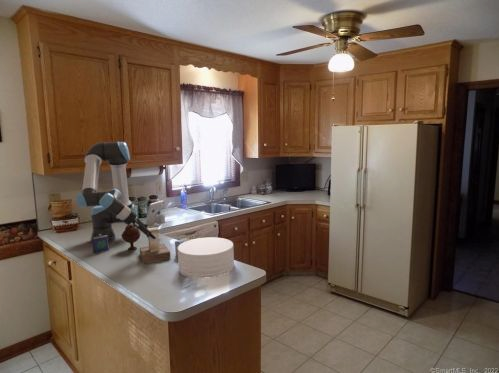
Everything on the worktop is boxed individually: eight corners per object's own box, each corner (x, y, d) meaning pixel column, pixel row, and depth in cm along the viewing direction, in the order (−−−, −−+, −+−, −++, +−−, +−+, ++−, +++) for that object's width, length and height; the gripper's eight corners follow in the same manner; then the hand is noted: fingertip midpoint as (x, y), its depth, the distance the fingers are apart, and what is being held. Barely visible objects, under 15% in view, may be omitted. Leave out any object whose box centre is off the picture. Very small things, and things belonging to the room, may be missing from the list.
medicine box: (186, 252, 198) (185, 237, 197) (191, 253, 196) (190, 239, 194) (175, 256, 192) (174, 241, 191) (180, 257, 189) (179, 242, 188)
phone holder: (156, 221, 272) (155, 199, 270) (166, 222, 268) (165, 199, 265) (141, 226, 257) (139, 203, 254) (151, 228, 253) (150, 204, 250)
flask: (107, 248, 208) (106, 231, 206) (110, 249, 206) (108, 232, 204) (92, 253, 201) (90, 235, 199) (94, 254, 199) (93, 236, 198)
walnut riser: (140, 254, 196) (139, 247, 196) (164, 250, 202) (164, 243, 202) (144, 263, 182) (143, 256, 182) (170, 258, 188) (170, 251, 187)
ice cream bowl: (118, 251, 203) (116, 226, 200) (131, 245, 213) (129, 222, 211) (133, 253, 199) (131, 228, 197) (145, 247, 209) (143, 223, 207)
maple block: (149, 249, 193) (147, 228, 191) (158, 247, 195) (156, 227, 193) (150, 251, 188) (148, 230, 187) (159, 250, 190) (158, 229, 189)
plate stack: (239, 258, 186) (239, 238, 184) (225, 280, 159) (224, 256, 157) (191, 256, 192) (190, 236, 190) (169, 276, 165) (168, 253, 163)
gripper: (119, 216, 193) (149, 237, 202) (124, 226, 171) (156, 250, 180) (129, 205, 195) (157, 227, 203) (134, 214, 172) (166, 238, 181)
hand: (157, 238), depth 191 cm, fingers open, 13 cm apart
